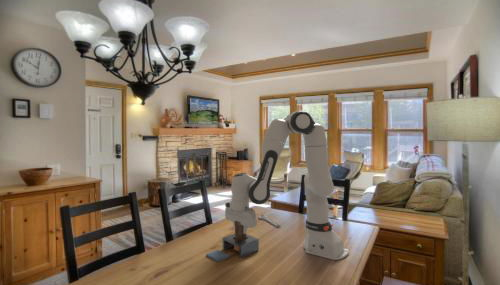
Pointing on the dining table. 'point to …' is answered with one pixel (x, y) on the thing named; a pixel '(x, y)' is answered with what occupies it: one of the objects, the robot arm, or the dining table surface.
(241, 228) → the brown block
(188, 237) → the dining table surface
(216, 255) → the pad
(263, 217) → the adjustable wrench
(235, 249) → the button
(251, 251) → the guard
